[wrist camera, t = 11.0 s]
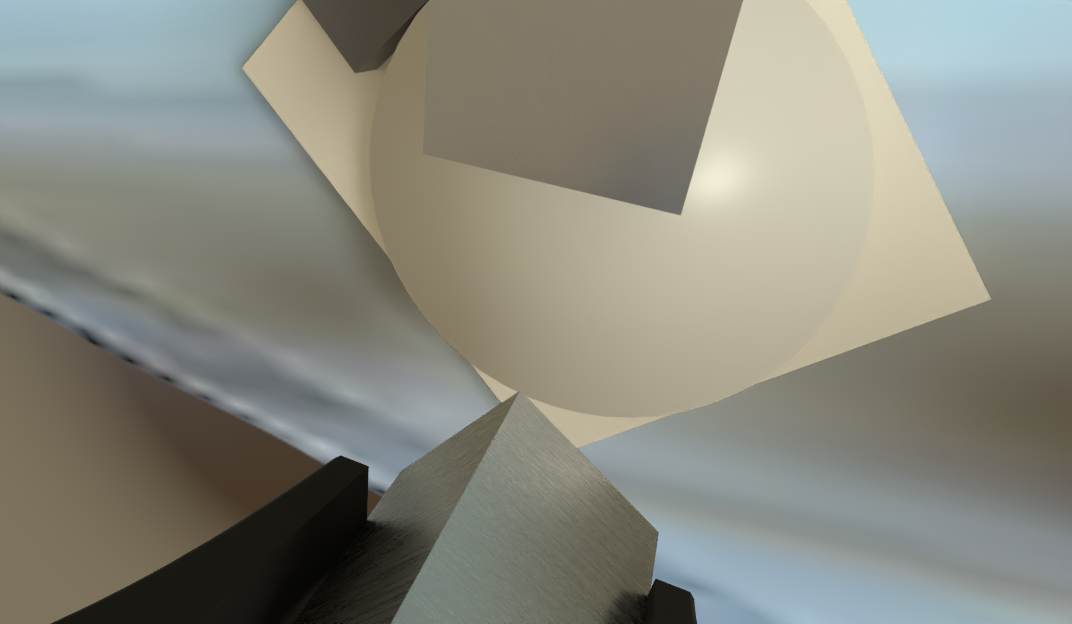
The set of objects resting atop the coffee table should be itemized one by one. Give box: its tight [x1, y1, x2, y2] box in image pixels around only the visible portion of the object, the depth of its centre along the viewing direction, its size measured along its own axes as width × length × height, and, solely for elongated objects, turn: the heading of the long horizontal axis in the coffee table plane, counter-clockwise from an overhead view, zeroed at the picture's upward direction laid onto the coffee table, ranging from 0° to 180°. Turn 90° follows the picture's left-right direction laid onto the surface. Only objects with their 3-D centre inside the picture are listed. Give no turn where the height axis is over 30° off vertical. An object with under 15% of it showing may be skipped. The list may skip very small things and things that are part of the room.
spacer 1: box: [423, 0, 743, 215], centre depth 9 cm, size 4×4×5 cm
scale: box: [242, 0, 991, 448], centre depth 14 cm, size 15×13×2 cm
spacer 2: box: [292, 390, 659, 624], centre depth 10 cm, size 4×4×5 cm
